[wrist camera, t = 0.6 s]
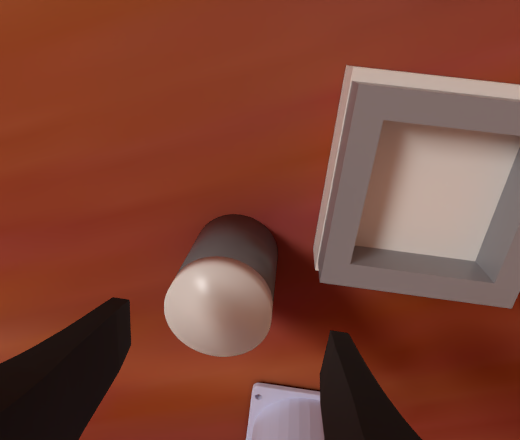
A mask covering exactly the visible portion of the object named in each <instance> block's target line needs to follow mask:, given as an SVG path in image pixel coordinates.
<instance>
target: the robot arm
mask: <svg viewBox="0 0 520 440" xmlns="http://www.w3.org/2000/svg"><path fill="white" fill-rule="evenodd" d="M130 346H131V331H130V302H129V300H127V299H120V298H114V297H113V298H111V299H110V300H108V301H106V302H105V303H103V304H102V305H100V306H99V307H97V308H96V309H94V310H93V311H91V312H90V313H88V314H87V315H85V316H84V317H82V318H81V319H79V320H77V321H76V322H74V323H73V324H71V325H70V326H68V327H66V328H65V329H63V330H62V331H60V332H58V333H57V334H55V335H53V336H51V337H50V338H48V339H46V340H45V341H43V342H41V343H39V344H38V345H36V346H34V347H32V348H31V349H29V350H27V351H25V352H23V353H21V354H19V355H17V356H15V357H13V358H11V359H9V360H7V361H5V362H3V363H1V364H0V440H79V438H80V436H81V434H82V432H83V431H84V429H85V427H86V426H87V424H88V422H89V421H90V419H91V417H92V416H93V414H94V412H95V411H96V409H97V407H98V406H99V404H100V402H101V401H102V399H103V397H104V396H105V394H106V393H107V391H108V389H109V387H110V386H111V384H112V382H113V381H114V379H115V377H116V376H117V374H118V372H119V370H120V368H121V366H122V364H123V362H124V360H125V357H126V355H127V353H128V350H129V348H130ZM257 394H259V395H257ZM246 440H422V439H421V438H420V437H419V436H418V435H417V434H416V433H415V431H414V430H413V429H412V428H411V427H410V425H409V424H408V423H407V422H406V421H405V419H404V418H403V417H402V416H401V414H400V413H399V412H398V411H397V409H396V408H395V407H394V405H393V404H392V402H391V401H390V400H389V398H388V397H387V396H386V394H385V393H384V391H383V390H382V388H381V387H380V385H379V384H378V382H377V381H376V379H375V378H374V376H373V375H372V373H371V371H370V370H369V368H368V367H367V365H366V363H365V362H364V360H363V358H362V357H361V355H360V353H359V351H358V350H357V348H356V346H355V344H354V342H353V341H352V339H351V337H350V335H349V334H348V333H344V332H337V331H331V330H330V334H329V338H328V343H327V347H326V351H325V355H324V359H323V364H322V368H321V372H320V392H319V391H312V390H306V389H299V388H292V387H285V386H279V385H272V384H265V383H256V384H254V385H253V389H252V397H251V405H250V413H249V420H248V428H247V436H246Z"/></svg>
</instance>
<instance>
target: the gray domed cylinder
mask: <svg viewBox="0 0 520 440" xmlns="http://www.w3.org/2000/svg"><path fill="white" fill-rule="evenodd" d="M277 259H278V249H277V244H276V241H275V239H274V237H273V235H272V234H271V232H270V231H269V230H268V229H267V228H266V227H265V226H264V225H263V224H262V223H260V222H259V221H257V220H255V219H253V218H251V217H248V216H244V215H237V214H231V215H224V216H221V217H218V218H216V219H213V220H212V221H210V222H209V223H208V224H207V225H205V227H204V228H203V229H202V230H201V232H200V234H199V236H198V237H197V239H196V241H195V243H194V245H193V246H192V248H191V250H190V252H189V254H188V255H187V257H186V259H185V261H184V263H183V264H182V266H181V268H180V270H179V272H178V273H177V275H176V277H175V279H174V281H173V282H172V284H171V286H170V288H169V290H168V292H167V294H166V297H165V301H164V313H165V317H166V320H167V323H168V325H169V327H170V329H171V330H172V331H173V333H174V334H175V335H176V336H177V337H178V339H180V340H181V341H182V342H183V343H184V344H186V345H187V346H189V347H190V348H192V349H194V350H196V351H199V352H201V353H204V354H207V355H212V356H220V357H228V356H236V355H240V354H243V353H246V352H248V351H250V350H252V349H254V348H255V347H257V346H258V345H259V344H260V343H261V342H262V341H263V340H264V338H265V337H266V335H267V334H268V331H269V329H270V325H271V319H272V309H273V299H274V289H275V279H276V269H277Z"/></svg>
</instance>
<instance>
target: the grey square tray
mask: <svg viewBox="0 0 520 440" xmlns="http://www.w3.org/2000/svg"><path fill="white" fill-rule="evenodd" d="M313 251H314V263H315V270H317V271H319V279H320V283H327V284H334V285H342V286H349V287H356V288H364V289H371V290H378V291H386V292H393V293H400V294H408V295H415V296H422V297H430V298H437V299H444V300H452V301H459V302H466V303H474V304H481V305H488V306H496V307H503V308H510V309H512V307H513V305H514V303H515V300H516V298H517V296H518V294H519V292H520V85H519V84H510V83H501V82H492V81H483V80H474V79H465V78H456V77H447V76H438V75H429V74H420V73H411V72H402V71H393V70H384V69H375V68H366V67H357V66H348V65H346V69H345V75H344V81H343V86H342V92H341V97H340V103H339V108H338V114H337V119H336V125H335V130H334V136H333V141H332V147H331V153H330V158H329V164H328V169H327V175H326V180H325V186H324V191H323V197H322V202H321V208H320V214H319V219H318V225H317V230H316V236H315V241H314V247H313Z"/></svg>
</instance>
